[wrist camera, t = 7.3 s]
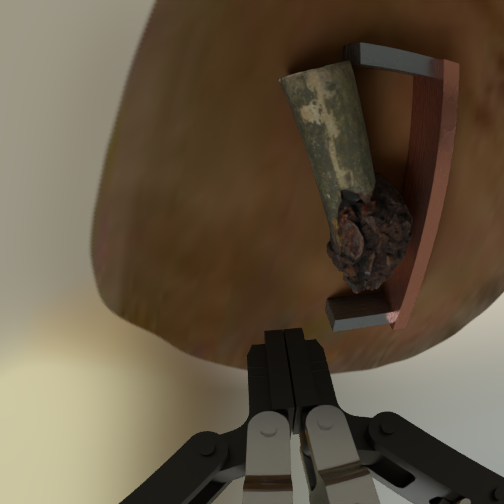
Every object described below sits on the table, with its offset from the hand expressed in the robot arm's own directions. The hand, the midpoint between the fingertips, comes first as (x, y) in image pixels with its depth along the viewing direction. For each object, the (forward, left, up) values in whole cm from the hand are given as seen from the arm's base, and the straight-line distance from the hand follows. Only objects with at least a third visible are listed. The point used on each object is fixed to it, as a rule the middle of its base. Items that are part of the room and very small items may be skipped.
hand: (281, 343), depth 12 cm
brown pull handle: (-10, -1, -14) cm, 17 cm away
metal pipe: (-7, -2, -14) cm, 16 cm away
